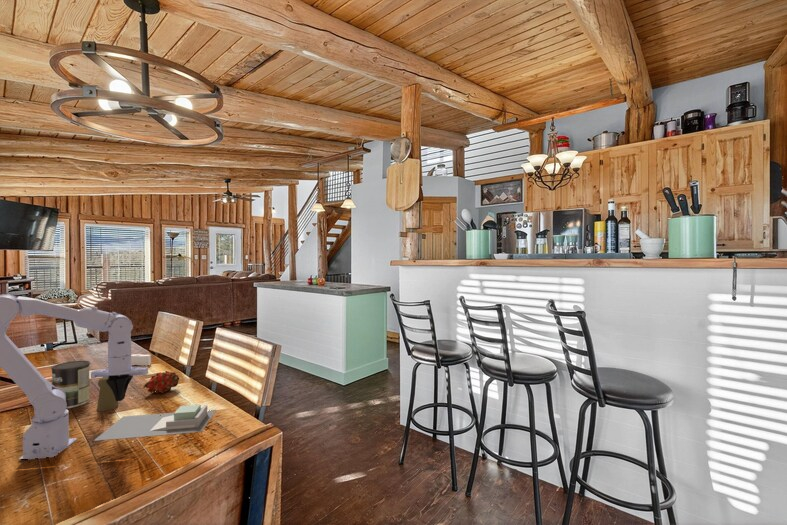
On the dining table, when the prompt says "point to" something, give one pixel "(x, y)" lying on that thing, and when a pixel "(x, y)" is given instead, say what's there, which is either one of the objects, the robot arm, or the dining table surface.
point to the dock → (156, 425)
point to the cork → (106, 396)
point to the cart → (187, 412)
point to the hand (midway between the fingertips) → (120, 399)
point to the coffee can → (72, 381)
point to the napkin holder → (141, 359)
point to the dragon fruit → (162, 382)
